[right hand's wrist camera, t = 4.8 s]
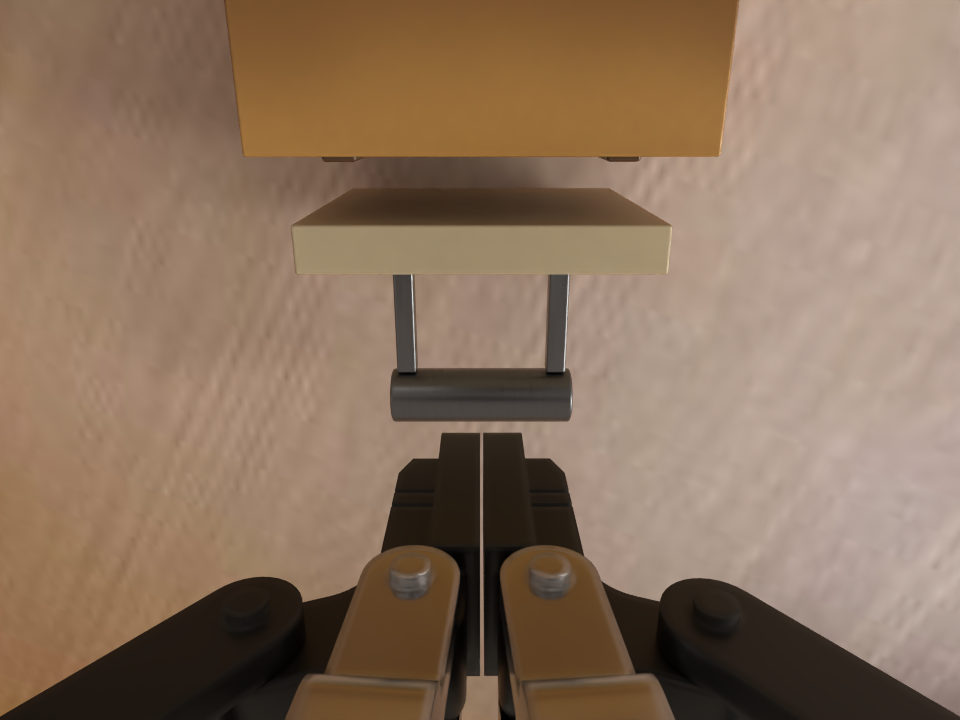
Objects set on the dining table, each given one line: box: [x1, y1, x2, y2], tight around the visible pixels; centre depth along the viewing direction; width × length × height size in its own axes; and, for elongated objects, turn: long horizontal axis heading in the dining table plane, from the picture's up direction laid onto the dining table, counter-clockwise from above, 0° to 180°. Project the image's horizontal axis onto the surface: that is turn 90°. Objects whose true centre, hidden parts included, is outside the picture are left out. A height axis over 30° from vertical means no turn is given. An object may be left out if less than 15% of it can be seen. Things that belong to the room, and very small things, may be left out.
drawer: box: [291, 157, 672, 421], centre depth 18 cm, size 23×9×8 cm, turn 0°
